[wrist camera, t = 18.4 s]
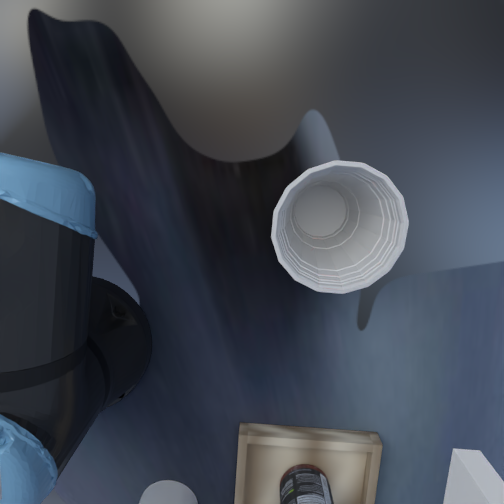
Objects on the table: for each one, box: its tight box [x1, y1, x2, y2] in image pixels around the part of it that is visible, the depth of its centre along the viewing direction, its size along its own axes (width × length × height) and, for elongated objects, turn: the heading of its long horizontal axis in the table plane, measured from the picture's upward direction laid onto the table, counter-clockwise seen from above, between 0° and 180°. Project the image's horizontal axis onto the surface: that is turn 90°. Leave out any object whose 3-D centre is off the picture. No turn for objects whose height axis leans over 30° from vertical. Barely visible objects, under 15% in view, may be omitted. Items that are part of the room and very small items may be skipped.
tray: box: [234, 422, 383, 504], centre depth 51 cm, size 16×14×2 cm
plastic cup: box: [271, 160, 409, 294], centre depth 40 cm, size 11×11×12 cm
